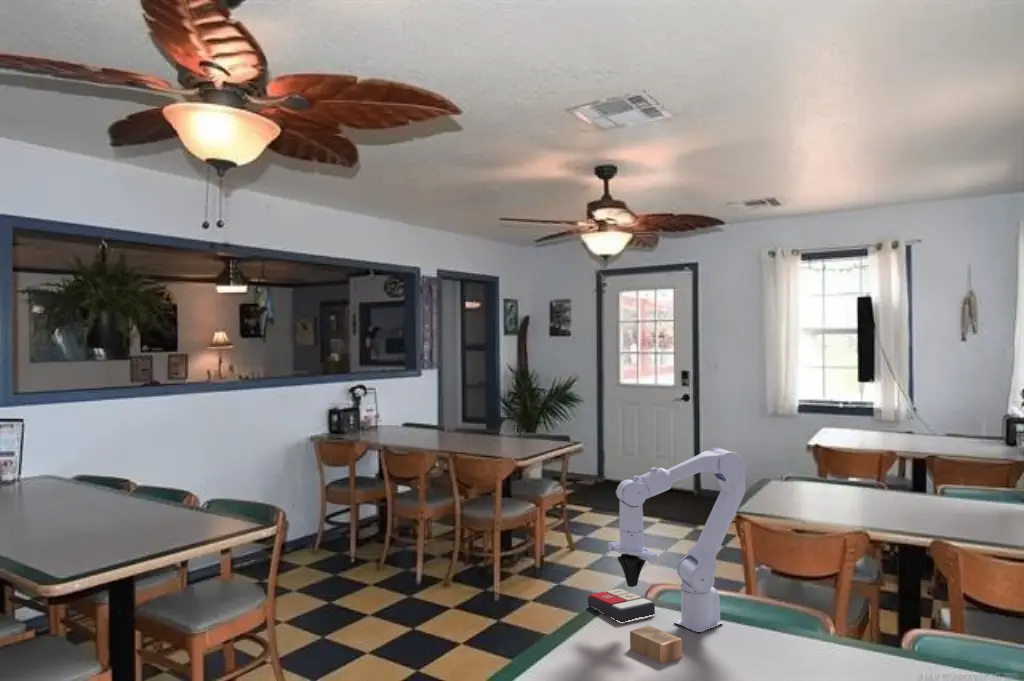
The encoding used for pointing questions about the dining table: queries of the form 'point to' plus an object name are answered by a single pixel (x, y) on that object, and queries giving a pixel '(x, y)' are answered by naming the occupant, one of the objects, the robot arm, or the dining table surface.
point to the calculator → (621, 604)
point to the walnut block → (656, 644)
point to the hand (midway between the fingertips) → (632, 585)
